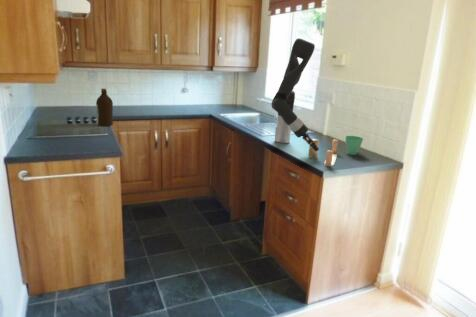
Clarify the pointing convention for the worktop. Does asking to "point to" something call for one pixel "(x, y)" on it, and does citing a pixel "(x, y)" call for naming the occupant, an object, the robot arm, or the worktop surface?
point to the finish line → (331, 154)
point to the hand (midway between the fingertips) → (315, 148)
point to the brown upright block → (312, 152)
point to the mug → (353, 144)
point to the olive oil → (104, 109)
